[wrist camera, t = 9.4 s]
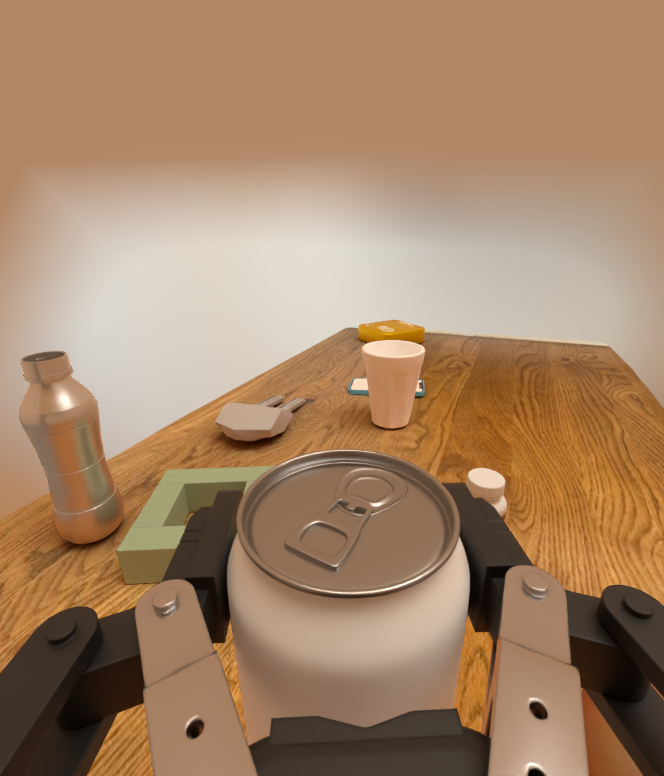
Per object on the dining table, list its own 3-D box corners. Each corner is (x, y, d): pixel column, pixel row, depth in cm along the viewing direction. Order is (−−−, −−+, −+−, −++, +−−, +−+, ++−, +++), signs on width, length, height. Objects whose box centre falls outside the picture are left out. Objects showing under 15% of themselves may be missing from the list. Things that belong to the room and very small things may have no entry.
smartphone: (352, 377, 85) (423, 379, 82) (352, 382, 86) (423, 384, 83) (347, 390, 78) (424, 392, 76) (347, 395, 79) (424, 398, 76)
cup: (353, 431, 64) (354, 354, 59) (368, 407, 73) (369, 338, 68) (416, 439, 61) (421, 359, 56) (423, 413, 70) (428, 342, 65)
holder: (371, 572, 37) (372, 539, 36) (125, 584, 36) (116, 551, 35) (357, 489, 49) (357, 462, 48) (172, 497, 48) (166, 469, 47)
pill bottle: (500, 561, 38) (512, 495, 35) (453, 549, 40) (461, 485, 37) (499, 531, 42) (509, 469, 39) (456, 521, 43) (463, 461, 41)
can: (459, 738, 15) (503, 477, 11) (391, 990, 10) (425, 687, 6) (321, 653, 19) (314, 425, 14) (217, 812, 13) (158, 532, 9)
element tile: (426, 342, 114) (427, 326, 113) (384, 350, 108) (385, 333, 106) (395, 332, 127) (395, 317, 125) (355, 338, 120) (356, 323, 118)
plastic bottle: (120, 503, 47) (78, 343, 40) (135, 534, 43) (90, 357, 35) (57, 527, 44) (-2, 355, 36) (65, 563, 39) (-1, 373, 31)
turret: (314, 415, 74) (315, 391, 73) (264, 453, 56) (263, 421, 55) (267, 409, 78) (267, 385, 76) (204, 442, 59) (203, 412, 58)
